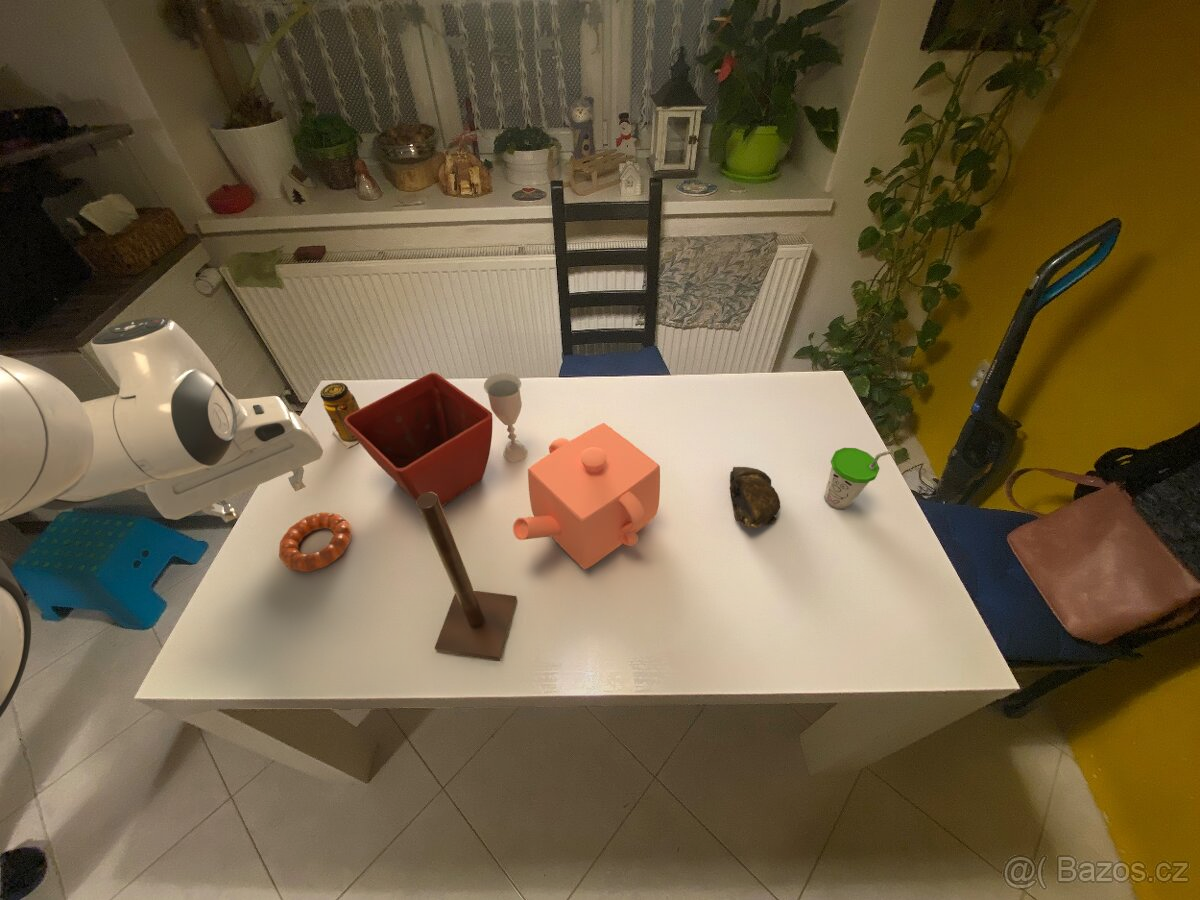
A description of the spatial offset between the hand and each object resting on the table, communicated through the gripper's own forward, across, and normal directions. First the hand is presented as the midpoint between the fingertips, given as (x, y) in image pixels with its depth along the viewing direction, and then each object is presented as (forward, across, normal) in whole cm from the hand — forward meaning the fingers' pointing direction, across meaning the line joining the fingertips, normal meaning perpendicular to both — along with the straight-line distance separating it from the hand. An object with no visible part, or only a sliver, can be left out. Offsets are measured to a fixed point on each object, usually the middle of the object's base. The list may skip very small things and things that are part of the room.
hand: (266, 501), depth 75 cm
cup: (+18, +84, -45) cm, 97 cm away
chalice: (+18, +41, +3) cm, 45 cm away
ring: (+17, +2, +4) cm, 17 cm away
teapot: (+18, +40, -22) cm, 49 cm away
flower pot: (+18, +26, +6) cm, 32 cm away
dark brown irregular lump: (+18, +70, -36) cm, 81 cm away
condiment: (+18, +17, +30) cm, 39 cm away
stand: (+18, +18, -26) cm, 37 cm away
